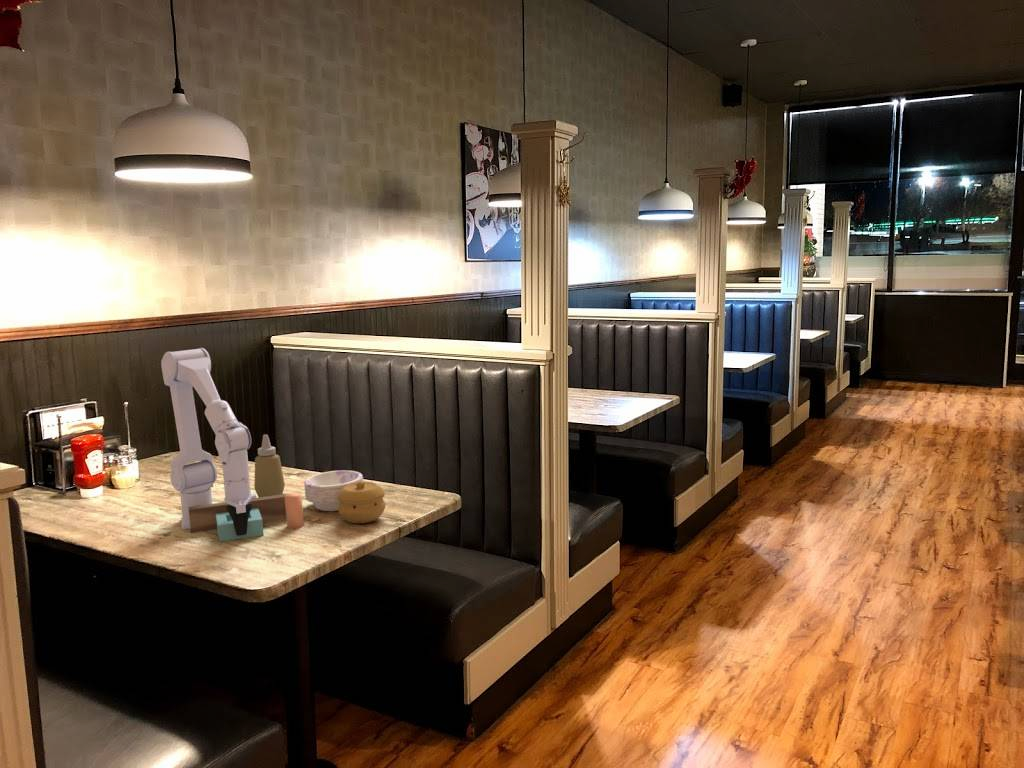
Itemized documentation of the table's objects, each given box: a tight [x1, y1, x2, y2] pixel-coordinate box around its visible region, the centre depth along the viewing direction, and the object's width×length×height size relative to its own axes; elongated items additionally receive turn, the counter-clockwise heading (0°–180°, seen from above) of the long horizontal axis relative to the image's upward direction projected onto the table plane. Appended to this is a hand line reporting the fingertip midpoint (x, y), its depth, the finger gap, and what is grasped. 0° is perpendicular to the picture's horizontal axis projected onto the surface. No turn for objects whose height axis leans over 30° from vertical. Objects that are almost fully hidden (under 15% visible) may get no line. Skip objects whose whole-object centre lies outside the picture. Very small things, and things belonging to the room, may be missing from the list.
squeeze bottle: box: [253, 434, 286, 498], centre depth 228 cm, size 8×8×18 cm
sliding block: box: [216, 508, 264, 543], centre depth 202 cm, size 10×10×4 cm
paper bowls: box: [303, 469, 364, 512], centre depth 221 cm, size 15×15×8 cm
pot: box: [337, 481, 387, 524], centre depth 209 cm, size 12×12×10 cm
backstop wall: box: [188, 493, 287, 534], centre depth 208 cm, size 2×24×6 cm, turn 112°
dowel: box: [284, 492, 305, 529], centre depth 205 cm, size 4×4×8 cm
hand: (241, 534), depth 197 cm, fingers closed
